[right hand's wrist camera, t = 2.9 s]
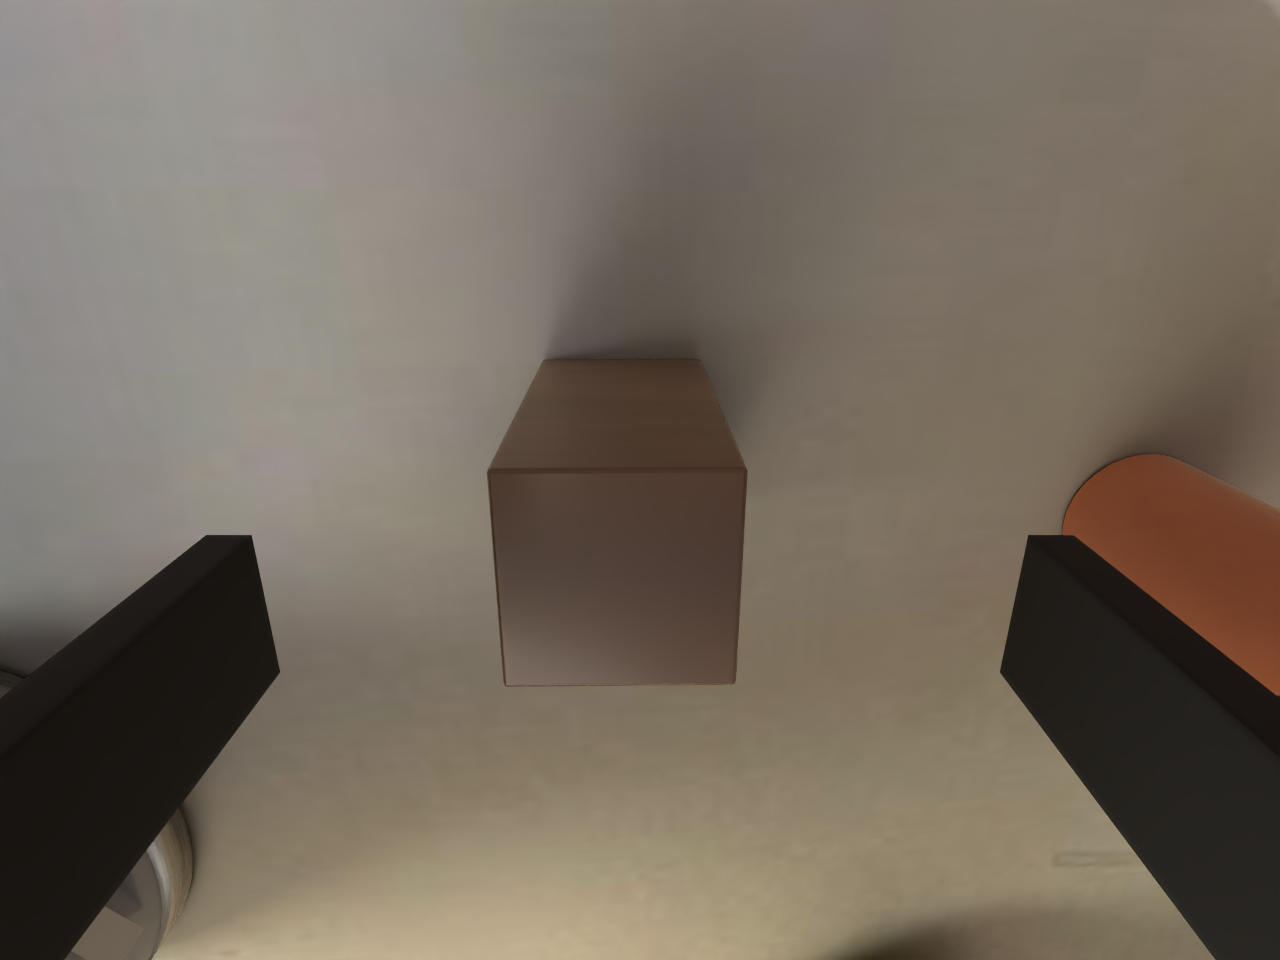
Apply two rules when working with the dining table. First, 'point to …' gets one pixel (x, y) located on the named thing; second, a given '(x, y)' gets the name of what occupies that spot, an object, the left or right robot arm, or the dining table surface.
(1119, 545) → the terracotta cylinder
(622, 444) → the walnut block
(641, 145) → the dining table surface
